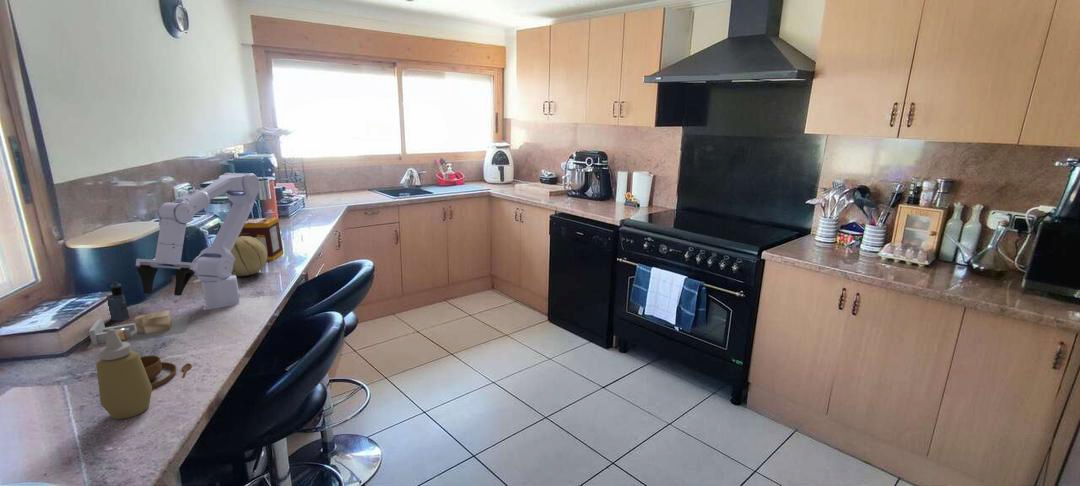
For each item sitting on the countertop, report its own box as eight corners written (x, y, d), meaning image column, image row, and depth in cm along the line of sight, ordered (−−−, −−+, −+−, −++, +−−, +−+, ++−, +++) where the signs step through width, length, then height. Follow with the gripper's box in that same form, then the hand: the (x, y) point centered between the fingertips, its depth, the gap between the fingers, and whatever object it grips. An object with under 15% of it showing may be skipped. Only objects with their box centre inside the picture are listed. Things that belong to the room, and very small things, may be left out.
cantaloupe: (277, 272, 183) (271, 234, 179) (236, 284, 171) (229, 243, 167) (256, 266, 190) (250, 228, 186) (215, 276, 178) (208, 237, 174)
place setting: (84, 406, 102) (77, 380, 100) (115, 362, 119) (109, 340, 118) (185, 386, 109) (180, 362, 108) (200, 348, 127) (196, 327, 125)
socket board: (190, 317, 143) (187, 303, 142) (185, 333, 133) (182, 318, 132) (100, 332, 134) (96, 317, 132) (87, 351, 124) (82, 334, 122)
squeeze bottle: (124, 400, 103) (104, 321, 98) (165, 398, 103) (147, 320, 99) (93, 424, 95) (70, 340, 90) (138, 422, 96) (117, 338, 91)
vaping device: (123, 323, 140) (113, 283, 136) (108, 321, 141) (98, 282, 137) (132, 319, 142) (123, 280, 139) (117, 318, 143) (108, 279, 140)
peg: (172, 323, 138) (169, 310, 137) (170, 329, 135) (167, 315, 134) (139, 329, 135) (136, 315, 133) (136, 334, 131) (132, 321, 130)
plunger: (128, 334, 131) (126, 326, 130) (125, 340, 128) (123, 332, 127) (116, 336, 130) (114, 328, 129) (112, 342, 127) (110, 334, 126)
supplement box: (245, 254, 206) (239, 218, 202) (283, 253, 208) (278, 217, 203) (233, 261, 196) (226, 223, 192) (273, 260, 198) (268, 223, 193)
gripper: (131, 241, 130) (123, 292, 129) (190, 246, 132) (183, 296, 131) (148, 244, 137) (140, 292, 136) (204, 248, 139) (197, 296, 138)
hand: (162, 294), depth 134 cm, fingers open, 7 cm apart
